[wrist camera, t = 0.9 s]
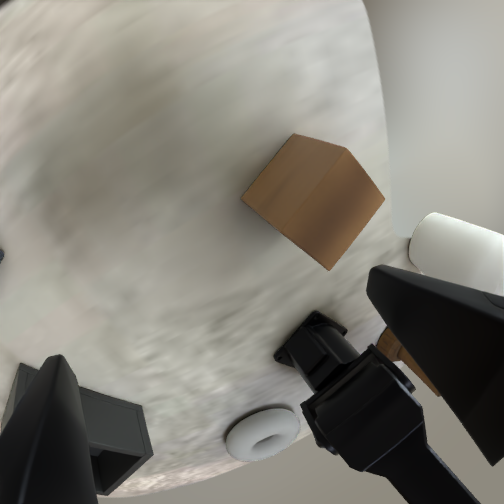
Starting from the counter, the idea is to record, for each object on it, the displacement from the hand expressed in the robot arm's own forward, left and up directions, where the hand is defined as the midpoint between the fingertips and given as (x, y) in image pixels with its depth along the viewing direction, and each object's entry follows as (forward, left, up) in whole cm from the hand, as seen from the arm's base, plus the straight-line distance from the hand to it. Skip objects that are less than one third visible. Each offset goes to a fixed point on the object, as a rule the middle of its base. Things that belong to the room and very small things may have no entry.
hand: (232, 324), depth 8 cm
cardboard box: (-8, -5, -14) cm, 17 cm away
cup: (-27, -12, -14) cm, 32 cm away
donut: (-27, +19, -14) cm, 35 cm away
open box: (-4, +25, -14) cm, 28 cm away
